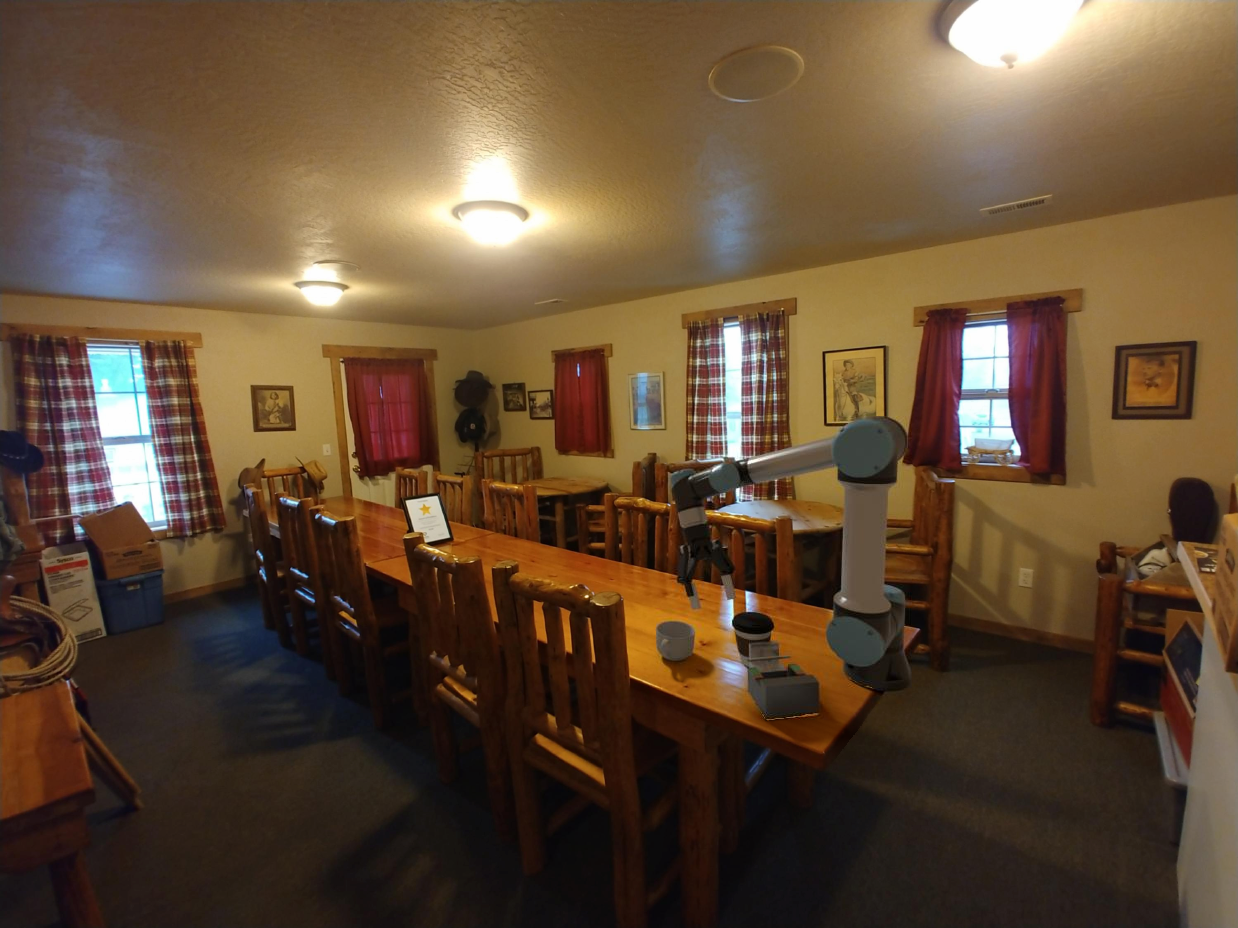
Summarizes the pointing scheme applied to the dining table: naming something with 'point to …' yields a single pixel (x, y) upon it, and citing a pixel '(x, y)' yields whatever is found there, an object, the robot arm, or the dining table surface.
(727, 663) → the dining table surface
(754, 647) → the grey bracket with plate
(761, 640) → the coffee cup
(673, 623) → the teacup
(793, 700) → the grey box
